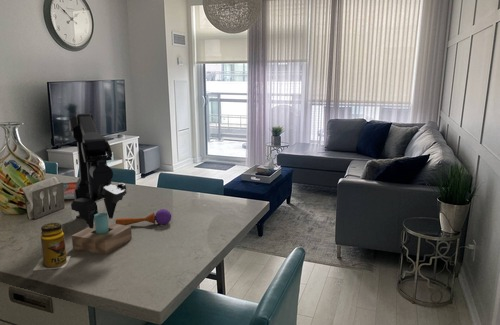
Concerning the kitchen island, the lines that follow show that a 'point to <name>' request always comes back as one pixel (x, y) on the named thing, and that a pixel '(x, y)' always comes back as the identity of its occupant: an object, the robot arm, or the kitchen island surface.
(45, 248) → the condiment
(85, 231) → the hole block
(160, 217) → the wooden maraca
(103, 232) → the pin
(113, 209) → the robot arm
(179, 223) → the kitchen island surface
